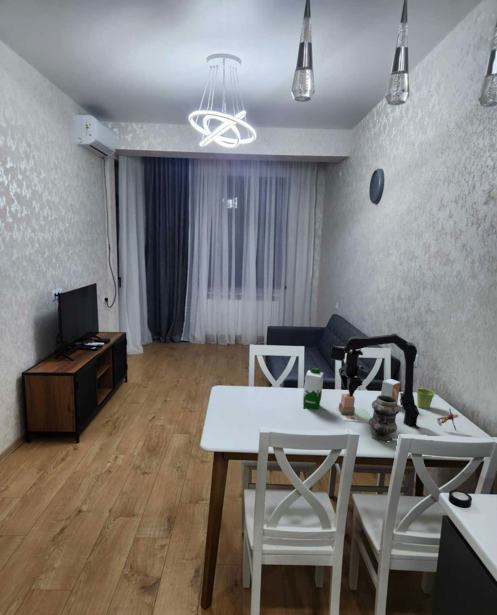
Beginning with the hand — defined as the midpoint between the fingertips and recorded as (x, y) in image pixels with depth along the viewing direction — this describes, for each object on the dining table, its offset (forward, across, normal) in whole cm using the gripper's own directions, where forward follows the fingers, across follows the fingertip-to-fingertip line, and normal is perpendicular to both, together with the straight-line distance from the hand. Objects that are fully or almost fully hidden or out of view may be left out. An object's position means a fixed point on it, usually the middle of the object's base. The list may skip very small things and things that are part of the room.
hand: (348, 392), depth 206 cm
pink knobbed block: (+6, 0, 0) cm, 6 cm away
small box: (+11, +15, -28) cm, 34 cm away
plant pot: (+11, +14, -47) cm, 51 cm away
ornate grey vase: (+11, -23, -9) cm, 27 cm away
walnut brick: (+10, 0, 0) cm, 10 cm away
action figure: (+11, -13, -44) cm, 48 cm away
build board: (+11, -2, -4) cm, 12 cm away
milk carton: (+11, +7, +16) cm, 21 cm away
